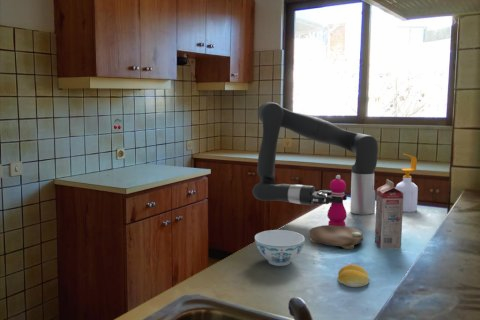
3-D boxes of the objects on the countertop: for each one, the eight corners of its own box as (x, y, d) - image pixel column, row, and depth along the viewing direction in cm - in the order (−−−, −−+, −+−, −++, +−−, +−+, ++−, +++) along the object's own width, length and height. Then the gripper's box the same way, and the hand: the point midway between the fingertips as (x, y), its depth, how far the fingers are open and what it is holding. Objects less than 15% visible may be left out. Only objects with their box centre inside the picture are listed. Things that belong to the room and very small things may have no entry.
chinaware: (247, 267, 135) (247, 242, 133) (263, 250, 148) (263, 227, 147) (297, 274, 129) (297, 248, 128) (309, 256, 143) (309, 232, 142)
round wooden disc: (340, 230, 169) (340, 220, 168) (374, 245, 153) (374, 234, 152) (299, 237, 162) (299, 227, 161) (329, 253, 145) (330, 242, 145)
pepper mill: (345, 223, 178) (346, 173, 175) (347, 229, 170) (349, 176, 167) (326, 223, 178) (327, 173, 175) (328, 229, 171) (329, 176, 168)
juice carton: (380, 248, 150) (383, 183, 146) (374, 242, 156) (377, 179, 153) (400, 248, 150) (404, 183, 146) (393, 242, 156) (396, 179, 153)
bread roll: (337, 286, 121) (337, 272, 121) (338, 273, 130) (339, 260, 129) (369, 290, 119) (370, 275, 119) (368, 276, 128) (369, 263, 127)
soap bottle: (391, 207, 202) (393, 152, 198) (410, 206, 203) (413, 152, 199) (400, 212, 193) (403, 155, 190) (420, 212, 194) (423, 155, 191)
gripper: (295, 188, 173) (339, 193, 165) (308, 181, 185) (349, 185, 177) (295, 207, 174) (339, 213, 166) (307, 199, 186) (349, 204, 178)
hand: (344, 199), depth 172 cm, fingers closed on pepper mill, 5 cm apart
